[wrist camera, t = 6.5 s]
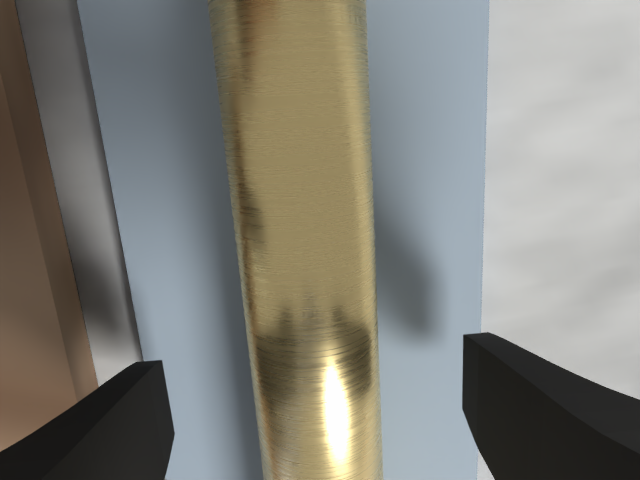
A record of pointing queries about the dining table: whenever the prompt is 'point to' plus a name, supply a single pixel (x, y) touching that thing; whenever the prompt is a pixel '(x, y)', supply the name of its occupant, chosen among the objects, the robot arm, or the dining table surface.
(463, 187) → the slate mat
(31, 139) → the rail stand
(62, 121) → the dining table surface
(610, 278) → the dining table surface
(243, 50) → the brass rail
